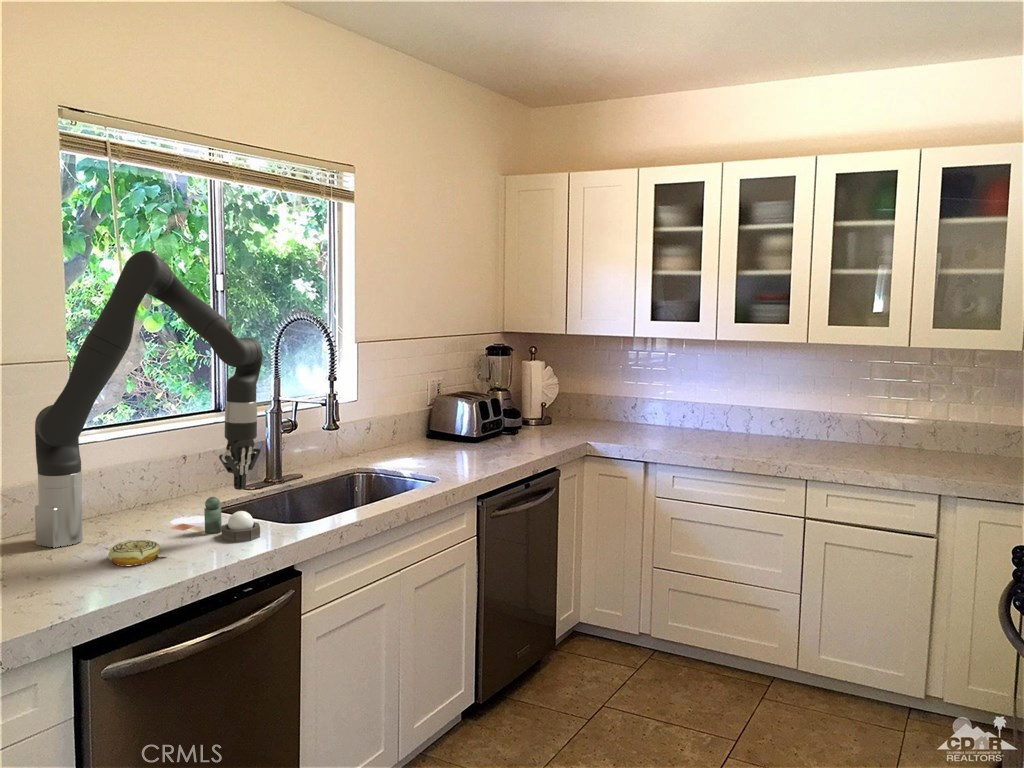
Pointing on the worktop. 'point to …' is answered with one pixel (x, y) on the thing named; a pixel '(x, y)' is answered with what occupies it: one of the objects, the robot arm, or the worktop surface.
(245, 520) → the white ball
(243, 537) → the game board
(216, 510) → the pawn
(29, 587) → the worktop surface
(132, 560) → the decorated donut
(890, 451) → the worktop surface
